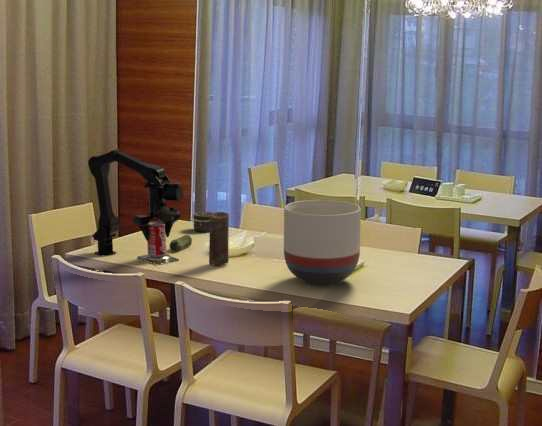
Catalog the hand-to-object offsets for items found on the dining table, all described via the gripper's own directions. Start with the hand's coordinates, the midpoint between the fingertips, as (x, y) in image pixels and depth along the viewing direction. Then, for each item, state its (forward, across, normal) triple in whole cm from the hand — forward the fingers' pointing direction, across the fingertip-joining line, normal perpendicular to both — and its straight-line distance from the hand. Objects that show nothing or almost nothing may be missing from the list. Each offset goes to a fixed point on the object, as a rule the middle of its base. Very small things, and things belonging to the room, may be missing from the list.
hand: (157, 238), depth 320 cm
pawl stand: (+8, 0, 0) cm, 8 cm away
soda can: (+7, 0, +1) cm, 7 cm away
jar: (+8, +43, +27) cm, 51 cm away
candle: (+8, +13, -22) cm, 27 cm away
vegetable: (+9, +17, +8) cm, 20 cm away
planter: (+8, +27, -63) cm, 69 cm away
